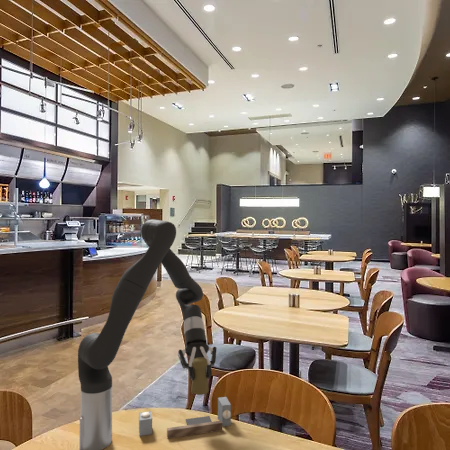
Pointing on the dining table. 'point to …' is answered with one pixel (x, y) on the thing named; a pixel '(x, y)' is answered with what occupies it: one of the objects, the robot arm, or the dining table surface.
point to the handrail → (194, 429)
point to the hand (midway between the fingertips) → (201, 378)
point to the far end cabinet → (224, 411)
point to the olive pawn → (200, 376)
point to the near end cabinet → (145, 423)
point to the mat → (198, 420)
